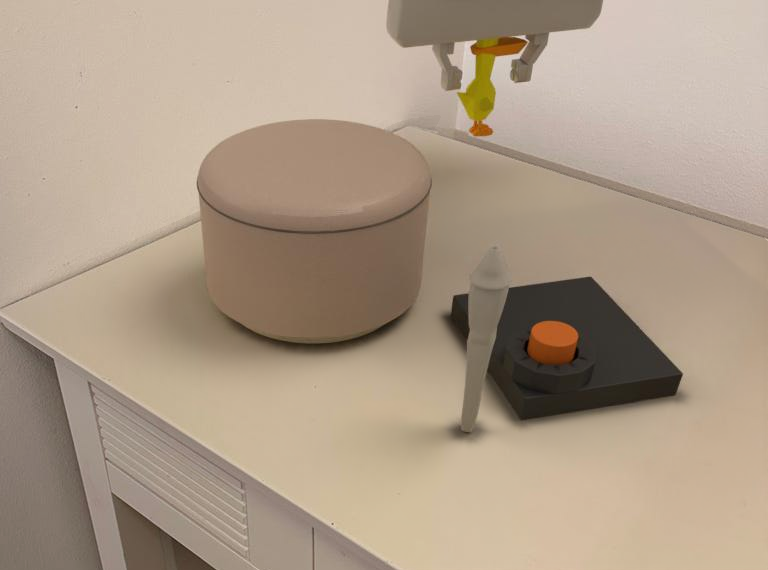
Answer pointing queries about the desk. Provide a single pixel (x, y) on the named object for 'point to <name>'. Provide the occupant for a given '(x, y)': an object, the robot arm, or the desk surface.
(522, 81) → the robot arm
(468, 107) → the toy figure
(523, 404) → the orange button pad
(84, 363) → the desk surface
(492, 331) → the pen
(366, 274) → the container
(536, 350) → the button
